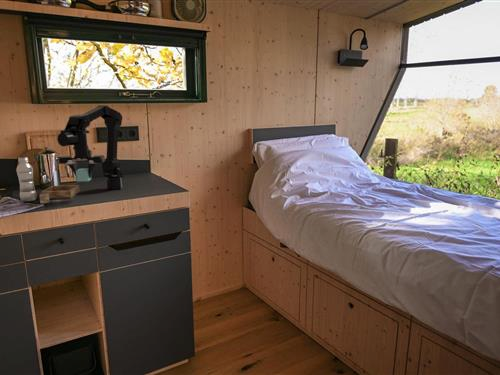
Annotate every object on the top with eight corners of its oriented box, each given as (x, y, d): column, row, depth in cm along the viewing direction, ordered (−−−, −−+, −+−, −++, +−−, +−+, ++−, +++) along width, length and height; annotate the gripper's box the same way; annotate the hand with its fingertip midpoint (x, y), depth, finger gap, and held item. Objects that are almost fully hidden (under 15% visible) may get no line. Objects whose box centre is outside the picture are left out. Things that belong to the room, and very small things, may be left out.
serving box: (79, 191, 187) (78, 185, 186) (71, 198, 174) (70, 191, 173) (52, 192, 185) (51, 185, 184) (41, 199, 172) (40, 192, 172)
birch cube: (49, 201, 170) (48, 193, 169) (49, 202, 167) (48, 195, 166) (40, 201, 168) (39, 194, 167) (40, 203, 165) (39, 196, 164)
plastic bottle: (24, 199, 172) (18, 156, 168) (40, 199, 173) (34, 156, 168) (17, 203, 166) (11, 158, 161) (33, 202, 166) (27, 158, 162)
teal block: (91, 179, 173) (90, 168, 172) (88, 181, 168) (87, 170, 167) (80, 179, 173) (78, 168, 172) (76, 181, 168) (75, 170, 167)
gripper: (106, 141, 176) (109, 174, 179) (64, 142, 173) (68, 175, 177) (100, 144, 165) (103, 178, 169) (55, 145, 163) (60, 180, 166)
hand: (83, 178), depth 170 cm, fingers closed on teal block, 5 cm apart
